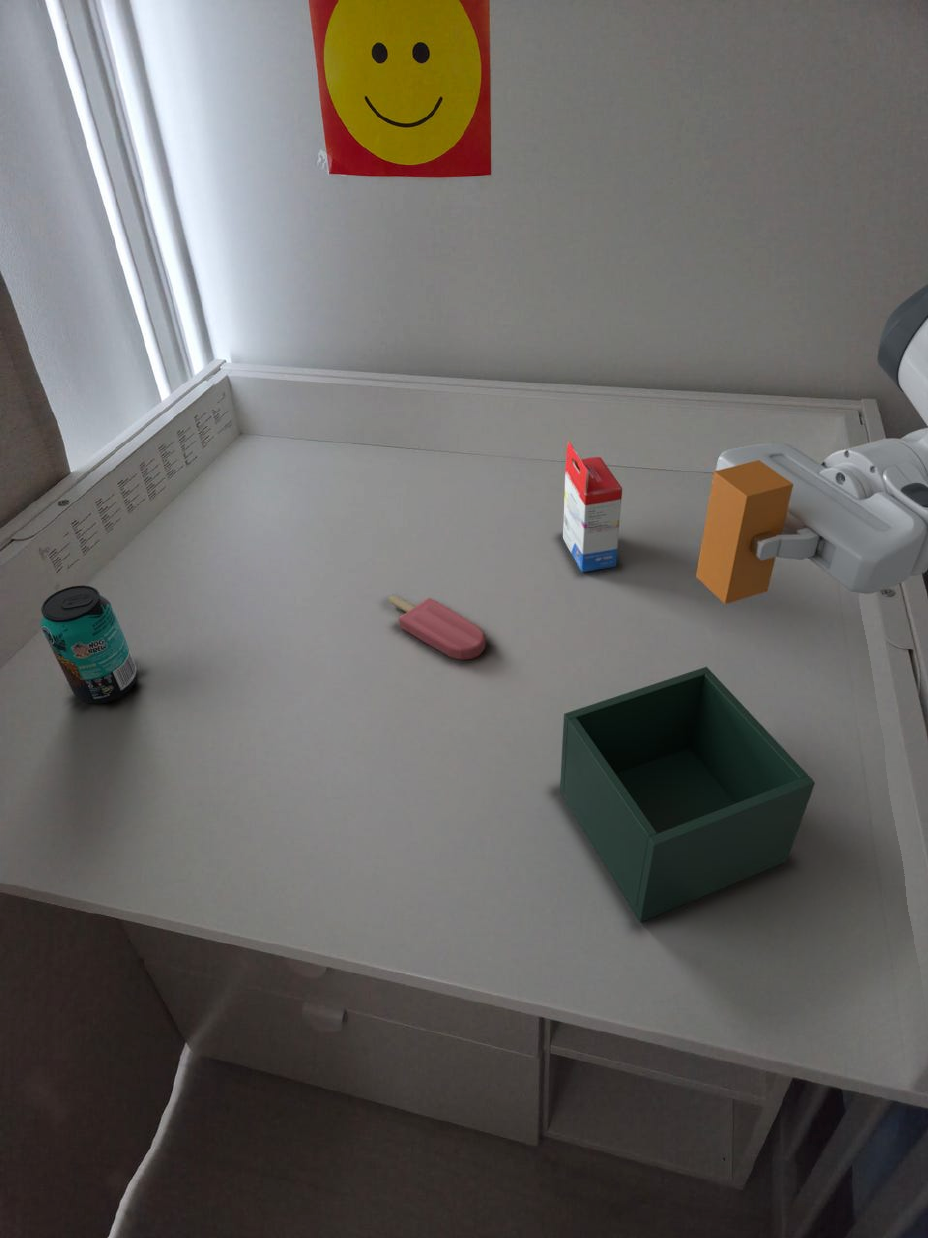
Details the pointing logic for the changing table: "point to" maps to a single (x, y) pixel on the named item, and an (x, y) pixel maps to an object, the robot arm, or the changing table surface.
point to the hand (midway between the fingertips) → (734, 531)
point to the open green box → (680, 790)
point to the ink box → (591, 512)
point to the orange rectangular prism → (741, 529)
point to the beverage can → (88, 644)
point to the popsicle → (441, 628)
